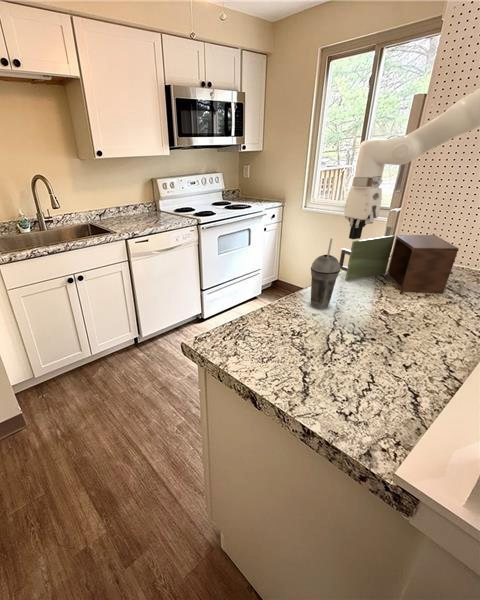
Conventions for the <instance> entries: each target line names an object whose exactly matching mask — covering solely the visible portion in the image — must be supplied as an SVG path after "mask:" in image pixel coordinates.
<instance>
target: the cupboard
mask: <svg viewBox="0 0 480 600" xmlns="http://www.w3.org/2000/svg"><path fill="white" fill-rule="evenodd" d="M458 252H459V247H457V246H455V245H454V244H452V243H450V242H449V241H446V240H444V239H443V238H442V237H439V236H438V235H436V234H396V235H395V238H394V242H393V246H392V250H391V254H390V258H389V262H388V266H387V270H386V275H387V277H388V278H389V279H390V281H392V283H393V284H394V285H395V286H396V287H397V288H398V290H400V292H401V293H423V294H444V292H445V290H446V287H447V283H448V281H449V278H450V276H451V271H452V269H453V267H454V264H455V262H456V261H455V260H456V258H457V255H458Z"/></svg>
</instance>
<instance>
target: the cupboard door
mask: <svg viewBox="0 0 480 600" xmlns="http://www.w3.org/2000/svg"><path fill="white" fill-rule="evenodd" d="M395 238H396V235H393V234H392V235H386V236H380V237H379V236H378V237H373V238H367V239H358V240H353V241H352V242H351V248H350V249H347V248H345V247H344V248H341V251H340V257H339V261H338V262H339V264H340V270H342V271H345V272H346V273H345V279H344V280H345V281H347V282H348V281H353V280H359V279H366V278H371V277H378V276H383V275H386V274H387V270H388V266H389V262H390V258H391V254H392V250H393V246H394V242H395ZM346 255H347V256H349V258H348V261H347V266H346V265H344V264H345V263H344V262H345V257H346Z"/></svg>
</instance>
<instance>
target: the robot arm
mask: <svg viewBox="0 0 480 600" xmlns="http://www.w3.org/2000/svg"><path fill="white" fill-rule="evenodd" d="M479 127H480V87H479V88H477V89H475V90H474V91H473V92H471V93H469V94H467V95H465V96H464V97H461V98H460V99H459V100H458V101H456V102H455V103H454V104H452V105H451V106H450V107H449V108H447V109H446V110H445V111H444V112H443V113H441V114H440V115H438V116H436V117H435V118H433V119H431V120H430V121H428V122H427V123H425V124H423V125H421V126H420V127H418V128H417V129H415V130H413V131H411V132H410V133H408V134H406V135H404V136H400V137H399V136H398V137H395V138H373V139H367V140H363V141H361V143H360V144H359V147H358V151H357V157H356V162H355V167H354V172H353V178H352V183H351V186H350V188H349V191H348V193H347V197H346V200H345V204H344V208H343V209H344V210H343V214H344V219H345V220H347V221H348V222H349V227H350V230H349V235H348V239H349V240H350V239H351V240H361V237H362V232H363V228H365V227H366V226H367V225H372V224H374V219H377V218H378V217H379V214H380V210H381V206H382V197H383V195H382V194H383V190H382V189H383V187H382V186H381V184H382V183H383V179H382V178H383V173H384V169H385V165H392V166H403V165H405V164H408V163H410V162H412V161H413V160H415V159H417V158H418V157H420V156H422V155H424V154H426V153H428V152H429V151H431V150H434V149H435V148H437V147H439V146H441V145H442V144H445V143H446V142H448V141H450V140H453V139H455V138H457V137H459V136H461V135H464V134H468V133H470V132H471V131H474V130H476V129H478V128H479Z"/></svg>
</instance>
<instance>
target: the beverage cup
mask: <svg viewBox="0 0 480 600" xmlns="http://www.w3.org/2000/svg"><path fill="white" fill-rule="evenodd" d="M332 245H333V238H330V240H329V245H328V249H327V254H322V255H320V256H317V257H316V258H315V259H314V260H313V261H312V263H311V267H310V275H311V279H310V280H311V285H310V307H312V308H313V309H316V310H327V309H328V308H329V305H330V303H331V299H332V296H333V292H334V289H335V285H336V281H337V279H338V277H339V274H340V272H341V269H340V264H339V262H340V261H339V260H338V258H336V257H335V256H334V255H331V254H330V253H331V249H332Z"/></svg>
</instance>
